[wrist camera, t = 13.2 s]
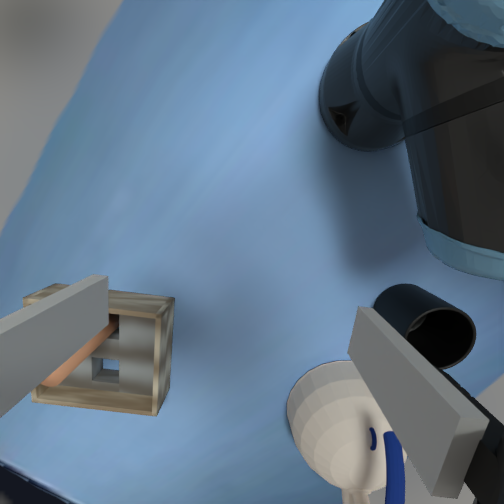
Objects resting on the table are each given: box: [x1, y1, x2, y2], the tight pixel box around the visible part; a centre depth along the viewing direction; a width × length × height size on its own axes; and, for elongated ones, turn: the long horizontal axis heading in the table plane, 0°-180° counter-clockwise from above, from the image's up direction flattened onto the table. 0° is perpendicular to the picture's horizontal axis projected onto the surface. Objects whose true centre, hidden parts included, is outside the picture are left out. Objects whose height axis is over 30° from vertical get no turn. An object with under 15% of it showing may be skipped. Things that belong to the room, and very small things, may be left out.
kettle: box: [287, 361, 407, 504], centre depth 37 cm, size 20×21×18 cm
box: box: [23, 284, 175, 416], centre depth 40 cm, size 18×20×6 cm
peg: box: [40, 313, 119, 387], centre depth 36 cm, size 3×3×14 cm
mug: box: [374, 284, 476, 370], centre depth 37 cm, size 9×12×9 cm
